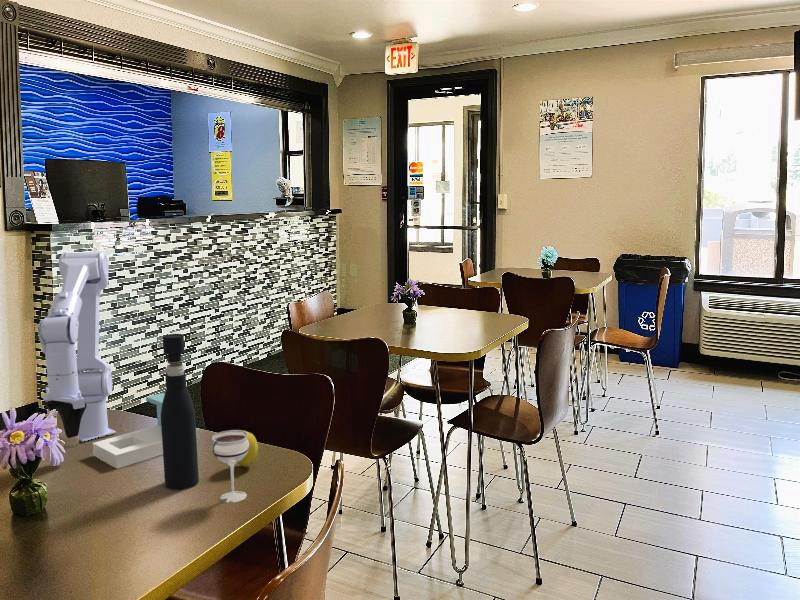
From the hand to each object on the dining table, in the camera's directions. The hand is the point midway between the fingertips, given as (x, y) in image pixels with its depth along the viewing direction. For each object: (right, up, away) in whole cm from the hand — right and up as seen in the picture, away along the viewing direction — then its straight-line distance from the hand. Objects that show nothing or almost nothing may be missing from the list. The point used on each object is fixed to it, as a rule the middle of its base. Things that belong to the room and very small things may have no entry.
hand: (67, 434), depth 142 cm
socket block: (+13, -5, +7) cm, 16 cm away
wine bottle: (+28, -8, -10) cm, 30 cm away
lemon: (+39, -7, -2) cm, 39 cm away
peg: (0, -2, 0) cm, 2 cm away
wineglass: (+39, -9, -16) cm, 44 cm away
